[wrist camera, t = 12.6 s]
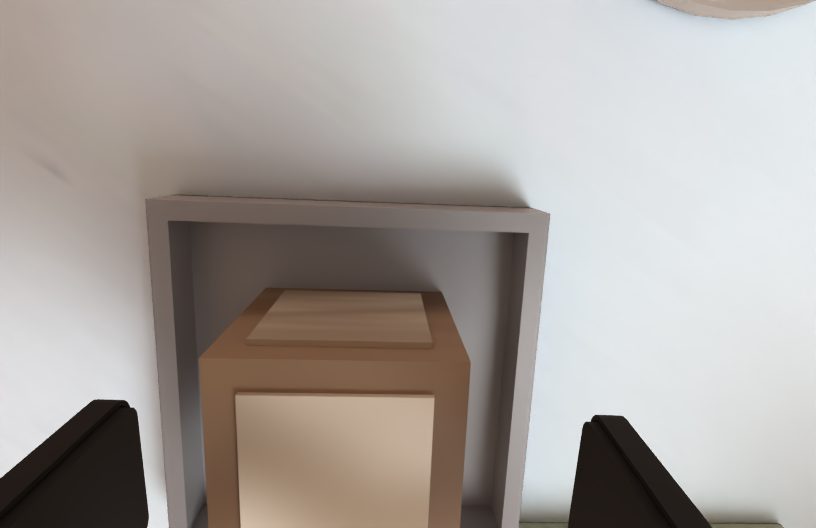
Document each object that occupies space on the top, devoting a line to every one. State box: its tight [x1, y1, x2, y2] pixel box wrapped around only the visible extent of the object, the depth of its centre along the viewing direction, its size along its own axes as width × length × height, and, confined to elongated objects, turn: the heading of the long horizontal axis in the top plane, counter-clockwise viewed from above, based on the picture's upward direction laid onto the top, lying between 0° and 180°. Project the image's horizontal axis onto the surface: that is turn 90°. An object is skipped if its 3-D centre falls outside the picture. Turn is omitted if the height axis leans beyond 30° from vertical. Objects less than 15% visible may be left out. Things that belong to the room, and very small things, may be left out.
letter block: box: [199, 288, 471, 528], centre depth 14 cm, size 6×6×6 cm
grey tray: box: [146, 195, 550, 528], centre depth 17 cm, size 12×12×2 cm
